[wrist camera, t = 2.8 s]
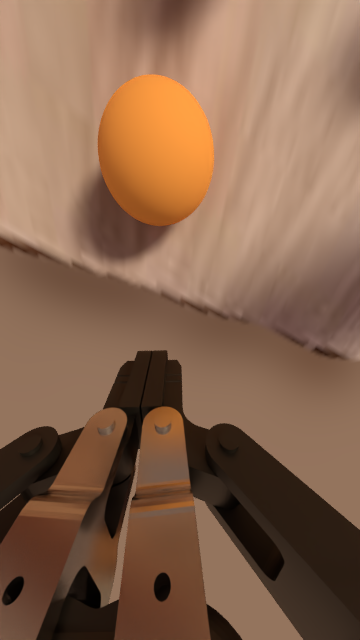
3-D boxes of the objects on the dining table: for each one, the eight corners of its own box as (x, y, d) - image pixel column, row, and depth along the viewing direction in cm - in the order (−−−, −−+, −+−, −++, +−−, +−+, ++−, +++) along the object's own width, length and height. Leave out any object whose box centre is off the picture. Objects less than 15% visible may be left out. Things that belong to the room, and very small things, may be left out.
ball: (208, 118, 12) (231, 19, 6) (205, 226, 14) (220, 221, 9) (111, 121, 12) (52, 26, 6) (125, 228, 14) (91, 225, 9)
